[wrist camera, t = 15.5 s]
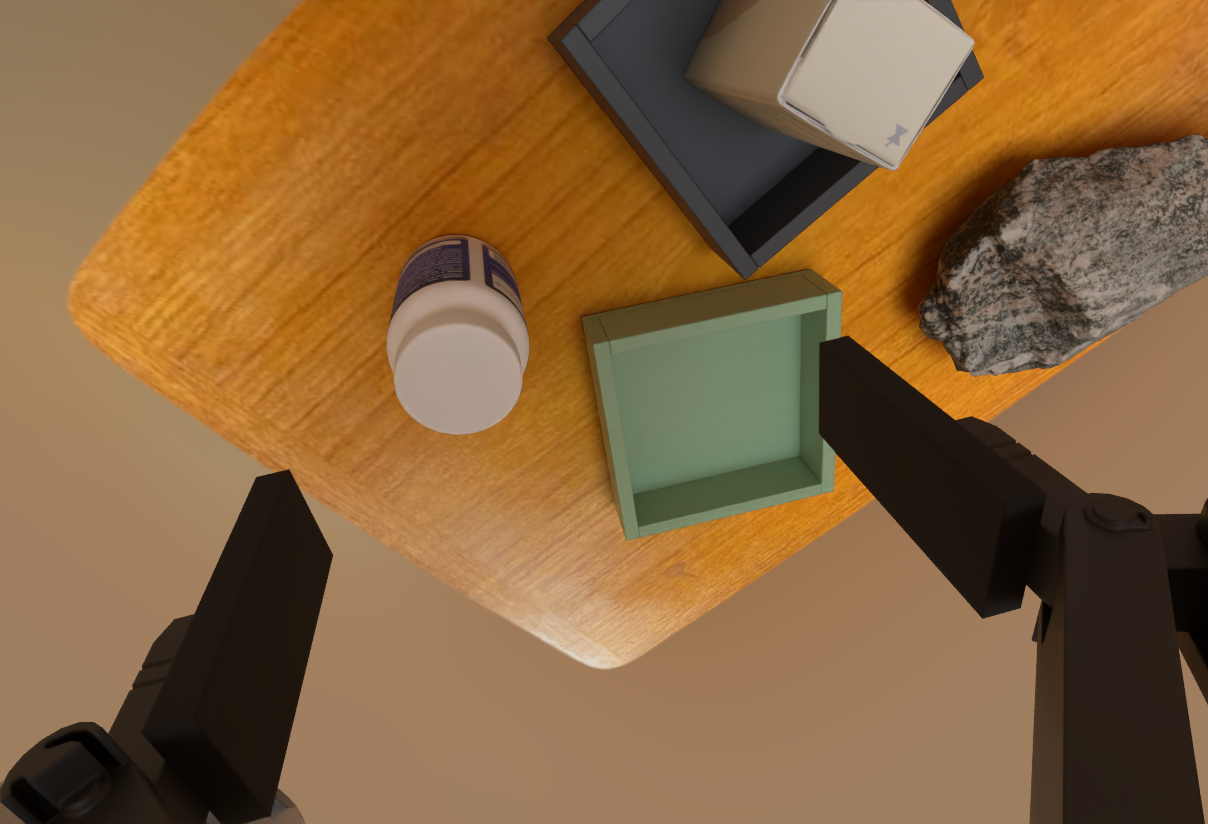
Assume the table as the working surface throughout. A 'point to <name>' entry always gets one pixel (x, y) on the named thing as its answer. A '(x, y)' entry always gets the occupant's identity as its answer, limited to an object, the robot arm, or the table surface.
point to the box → (832, 70)
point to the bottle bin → (714, 400)
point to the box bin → (710, 127)
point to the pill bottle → (457, 336)
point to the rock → (1070, 255)
